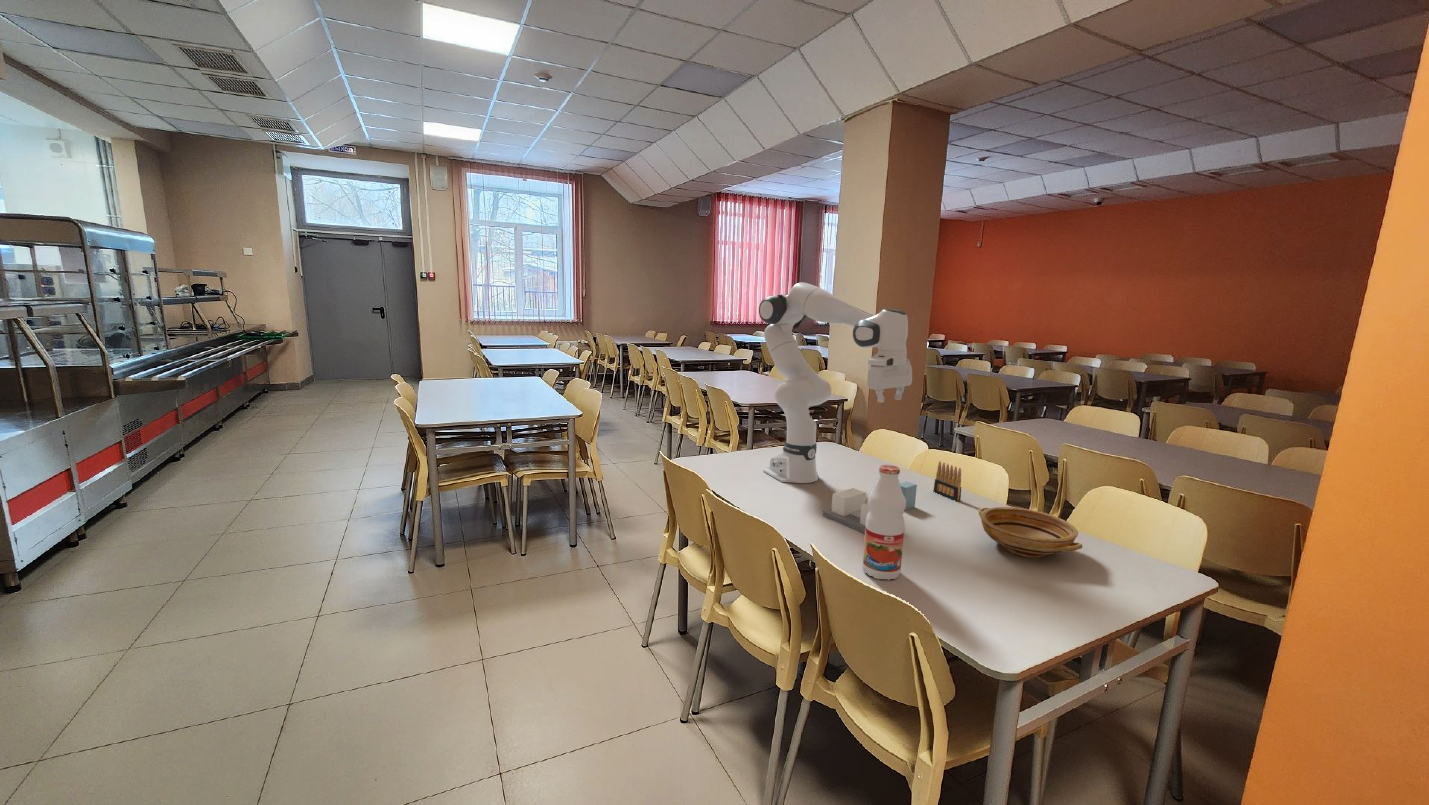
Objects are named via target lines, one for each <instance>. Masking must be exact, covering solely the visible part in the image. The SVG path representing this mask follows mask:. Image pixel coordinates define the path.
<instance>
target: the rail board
mask: <svg viewBox="0 0 1429 805" xmlns="http://www.w3.org/2000/svg"><path fill="white" fill-rule="evenodd" d="M868 512H869V506H868V502H866V491H863V490H861V489H857V488H854V487H853V488H849V489H845V490H841V491H837V492H834V493H832V499H831V508H830V509H825V510H823V511H822V516H823V517H825V518H828V519H829V520H832V521H835V522H837V523H839V524H842V525H845V526H846V527H849V528H851V529H853V530H855V531H858V532H861V533H862V532H863V534H865V524H866V517H867V514H868Z"/></svg>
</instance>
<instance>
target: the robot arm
mask: <svg viewBox="0 0 1429 805" xmlns="http://www.w3.org/2000/svg"><path fill="white" fill-rule="evenodd" d="M789 290H790V291H789V293H788V294H787V295H785V294H784V295H783V294H782V293H780V294H775V295H770V296H767V297H765V298H763V299H762V300H760V303H759V305H758V315H759V317H760V319H761V321H763V323H765V324H769V325H767V326H766V328H765V329H764V332H763V336H764V340H765V343H766V344H765V345H766V347H767V350H768V352H769V355H770V357H771V359H772V361H773V364H774V366H775V368H776V371H777V372H778V373H779V374H780V375H782V376H784V377H785V378H786V379H787V380H785V381H784V382H781V383H779V384H778V385H777V386H776V387H775V390H774V399H775V402H776V404H777V405H778V406H779V407H780V408H781V410H782V411H783V412H784V416H785V419H786V440H785V441H782V442H781V446H783V447H782V450H780V451H778V452H777V453H775V454H773V455H772V456H771V458H770V460H769V466H766V467H764V468H763V471H762V472H764V473H765V474H767V475H768V476H770V477H772V478H774V479H776V480H777V481H779V482H781V483H794V484H809V483H814V482H816V481H818V480H819V477H818V471H817V470H818V469H817V459H816V454H817V449H818V448H817V442H816V440H817V423H816V421H815V420H814V419H813V418H812V417H811V415H810V411H809V409H810V408H809V407H814V406H816V407H817V406H819V405H821V404H823V403H825V402H827V401H828V400H829V399H830V397H831V395H832V387H831V384H830V383H829V381H828V380H827V379H826V378H823V377H822V376H821V375H819V374H818V373H817V372H816V371H815V370H814V369H813V368H812V367H811V365H809V364H808V362H807V361H806V360H805V359H806V358H805V357H804V356H803V353H802V351H801V349H800V347H799V345H798V344H797V341H796V339H795V338H794V334H793V329H798V328H799V327H800V326H801V324H802V323H804V322H805V321H806V319H807V318H809V319H812V320H814V321H817V322H821V323H825V324H827V323H828V324H844V325H849V326H852V327H853V328H852V338H853V341H854V343H855V344H856V345H857V346H858V347H861V348H865V349H867V348H878V349H877V350H878V351H877V353H876V354H875V355H873V356H871V357H870V358H868V361H867V364H868V365H869V367H868V370H867V382H866V383H867V387H868V389H870V390H874V391H875V394H876V398H877V403H881V404H882V403H885V399H886V397H885V396H884V394H883V393H884V392H885V390H886V389H894V388H895V389H896V392H895V394H894V400H896V401H901V400H902V396H903V394H904V390H905V387H907V386H908V387H910V386H911V385H912V383H913V366H912V365H911V360H909V358H908V357H907V352H908V348H907V339H908V336H909V320H908V319H909V318H908V315H907V313H906V312H905V311H904V310H901V309H897V308H883V309H882V310H881V311H880V312H878V313H877V314H875V315H873V314H871V313H868V312H866V311H864V310H862V309H860V308H857V307H856V306H854V305H851V304H849V303H847V302H846V301H844V300H842V299H841V298H839V297H837V296H835V295H834V294H832V293H830V292H828V291H827V290H824V289H823V288H821V287H819V286H816V285H813V284H811V283H809V282H801V281H800V282H798V283H795V284H794V285H793V286H792V287H791V288H790V289H789Z"/></svg>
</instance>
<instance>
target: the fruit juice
mask: <svg viewBox="0 0 1429 805" xmlns="http://www.w3.org/2000/svg"><path fill="white" fill-rule="evenodd" d="M900 469H901V468H900V467H899V466H896V465H893V464H882V465H879V467H878V473H879V476H878V478H877V481H876V483H875V485H874V486H873V489H872V490H871V491H870V492H869V494H868V498H867V503H868V506H869V512H868V514H867V517H866V524H865V533H864V539H863V542H864V543H863V553H862V554H863V555H862V571H863V570H864V571H863V572H864V574H866V573H867V574H868V575H870V576H873V577H876V578H878V579H877V580H879V579H888V580H887V581H891V580H890V579H894V580H896V579H898V578H899V577H900V575H901V573H902V572H901V571H902V561H903V547H904V537H905V526H906V525H905V524H906V523H905V517H904V512H905V511H906V510H905V507H906V499H905V497H904V495H903V493H902V490H901V486H900V483H901V482H900V480H899V475H900V473H901V472H900V471H901V470H900ZM904 510H905V511H904ZM867 574H866V575H867ZM868 575H867V576H868ZM870 576H869V577H870Z"/></svg>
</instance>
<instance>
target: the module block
mask: <svg viewBox="0 0 1429 805" xmlns="http://www.w3.org/2000/svg"><path fill="white" fill-rule="evenodd" d="M899 483H900V486H901V490H902V493H903V495H904V497H905V499H906V507H905V511H908V510H911V509H913V507H914V508H915V507H916V499H917V498H916V496H917V487H918V484H916V483H913V482H910V481H903V482H899ZM907 509H908V510H907Z"/></svg>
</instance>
